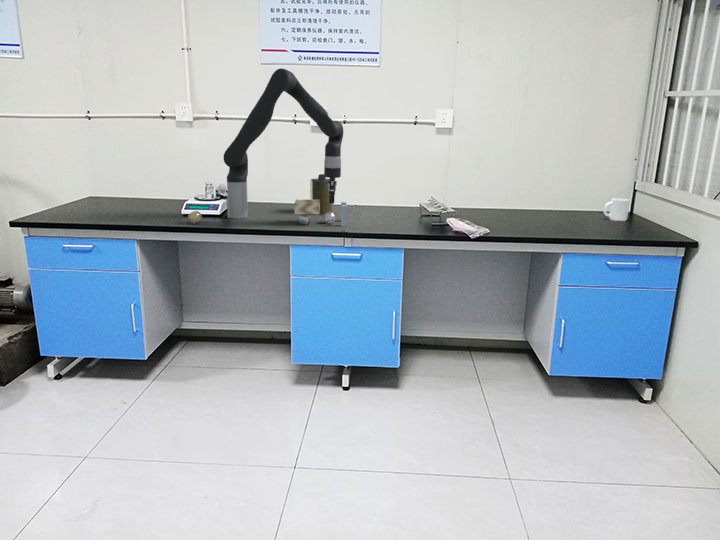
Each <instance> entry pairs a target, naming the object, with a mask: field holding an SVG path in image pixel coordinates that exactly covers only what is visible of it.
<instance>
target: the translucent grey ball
mask: <svg viewBox="0 0 720 540" xmlns="http://www.w3.org/2000/svg"><path fill="white" fill-rule="evenodd" d="M310 215H311V214H298V216H297V221H298V223H299V224H301V225H306V224H308V223H309V221H310V217H311V216H310Z"/></svg>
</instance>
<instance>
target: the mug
mask: <svg viewBox="0 0 720 540" xmlns="http://www.w3.org/2000/svg"><path fill="white" fill-rule="evenodd" d="M608 206H610V207H609V212H607V208H608ZM629 207H630V199H627V198H621V197H620V198H617V197H616V198H615V197H614V198H611V200H610V201H609V202H606V203H605V205H604V206H603V209H602V210H603V211H602V213H603V214H604V216H606V217H608V219H609V220H610V221H615V222H625V221H627V220H628V215H629Z"/></svg>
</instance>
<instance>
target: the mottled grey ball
mask: <svg viewBox="0 0 720 540" xmlns="http://www.w3.org/2000/svg"><path fill="white" fill-rule="evenodd" d="M323 222H324V223H325V224H326V225H333V224H334V223H335V222H336V215H335V213H334V212H333V211H332V212H330V211H329V212H326V213H325V215H323Z"/></svg>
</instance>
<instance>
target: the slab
mask: <svg viewBox="0 0 720 540" xmlns="http://www.w3.org/2000/svg"><path fill="white" fill-rule="evenodd" d="M293 207H294V215H299V214H309V215H314V214H319V212H320V200H312V199H295V201H294V206H293Z"/></svg>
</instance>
